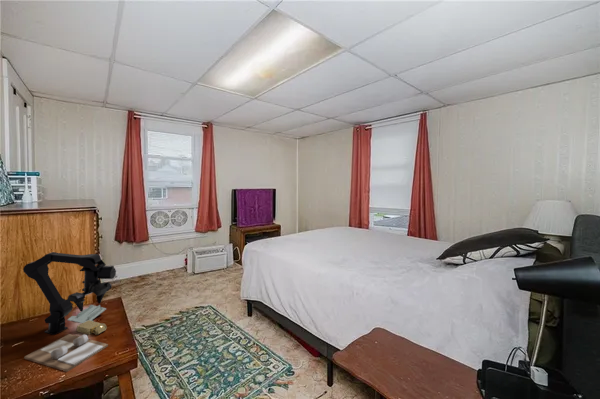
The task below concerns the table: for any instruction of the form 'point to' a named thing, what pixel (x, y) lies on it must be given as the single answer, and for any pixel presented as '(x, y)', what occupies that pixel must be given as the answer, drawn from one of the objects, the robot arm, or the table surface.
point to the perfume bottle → (91, 327)
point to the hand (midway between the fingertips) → (90, 307)
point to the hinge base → (55, 363)
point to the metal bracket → (87, 314)
